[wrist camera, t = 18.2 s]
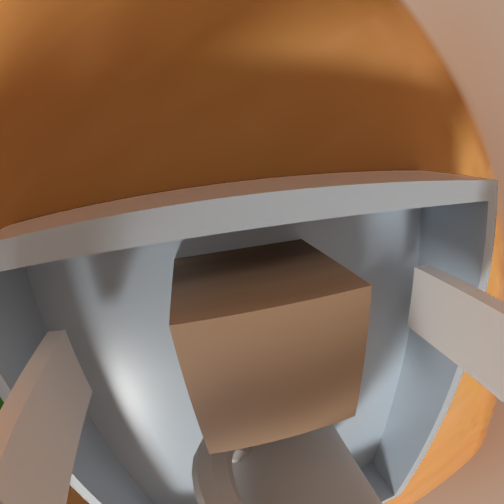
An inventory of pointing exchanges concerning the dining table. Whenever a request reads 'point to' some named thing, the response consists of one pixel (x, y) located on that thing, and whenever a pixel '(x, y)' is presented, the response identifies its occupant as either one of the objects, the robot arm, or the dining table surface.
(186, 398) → the tote
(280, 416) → the walnut cube
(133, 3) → the dining table surface
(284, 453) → the cup
